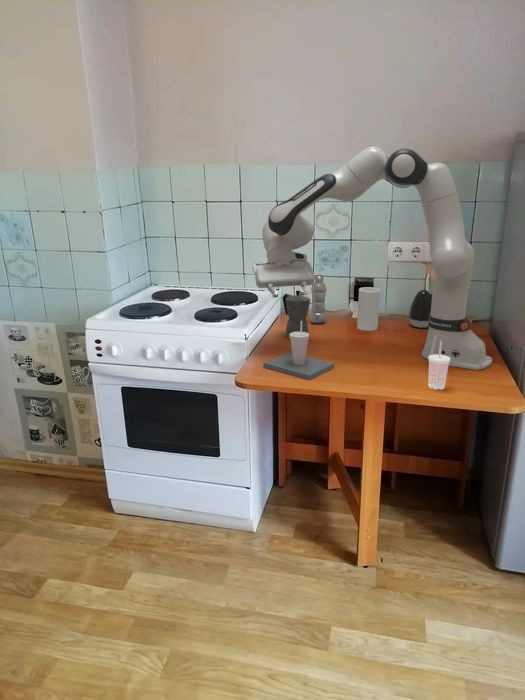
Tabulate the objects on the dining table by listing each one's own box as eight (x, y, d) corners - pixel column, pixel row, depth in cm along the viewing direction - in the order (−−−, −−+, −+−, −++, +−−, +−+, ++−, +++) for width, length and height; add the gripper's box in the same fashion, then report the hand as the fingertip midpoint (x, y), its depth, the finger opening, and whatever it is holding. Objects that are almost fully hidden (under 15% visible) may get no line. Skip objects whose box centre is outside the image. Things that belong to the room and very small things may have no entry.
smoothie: (309, 366, 171) (310, 323, 166) (289, 366, 171) (289, 323, 166) (308, 359, 177) (309, 318, 172) (288, 359, 177) (289, 318, 172)
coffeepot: (317, 338, 205) (319, 292, 199) (298, 342, 200) (299, 295, 194) (292, 329, 217) (292, 285, 211) (273, 333, 211) (273, 288, 206)
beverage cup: (448, 384, 160) (453, 339, 155) (446, 391, 154) (451, 345, 150) (426, 381, 162) (431, 337, 158) (424, 388, 157) (428, 342, 152)
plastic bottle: (327, 321, 228) (329, 274, 222) (322, 325, 222) (324, 277, 216) (313, 320, 231) (314, 273, 225) (307, 324, 225) (308, 276, 219)
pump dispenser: (433, 330, 215) (437, 293, 210) (407, 328, 218) (410, 291, 213) (434, 324, 224) (438, 288, 219) (408, 322, 227) (411, 286, 222)
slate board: (334, 367, 174) (334, 363, 173) (309, 379, 163) (309, 375, 163) (289, 356, 185) (289, 352, 184) (263, 367, 174) (263, 362, 174)
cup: (379, 330, 215) (381, 291, 210) (358, 330, 215) (360, 291, 210) (375, 325, 223) (377, 287, 218) (355, 325, 223) (357, 287, 218)
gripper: (253, 257, 180) (260, 292, 174) (310, 254, 185) (320, 288, 179) (250, 268, 186) (257, 302, 180) (306, 265, 190) (315, 298, 185)
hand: (289, 295), depth 180 cm, fingers open, 8 cm apart
